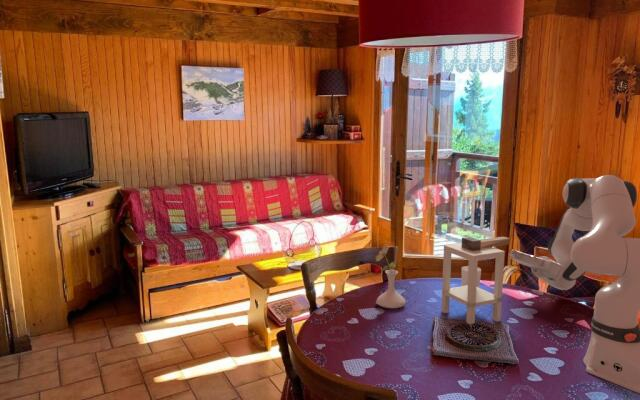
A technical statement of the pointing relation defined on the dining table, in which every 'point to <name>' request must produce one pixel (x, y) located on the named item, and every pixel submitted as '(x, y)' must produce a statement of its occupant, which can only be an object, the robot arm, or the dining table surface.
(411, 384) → the dining table surface
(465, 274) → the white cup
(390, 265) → the flower in vase
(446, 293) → the shelf stand
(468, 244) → the mallet
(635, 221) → the robot arm
